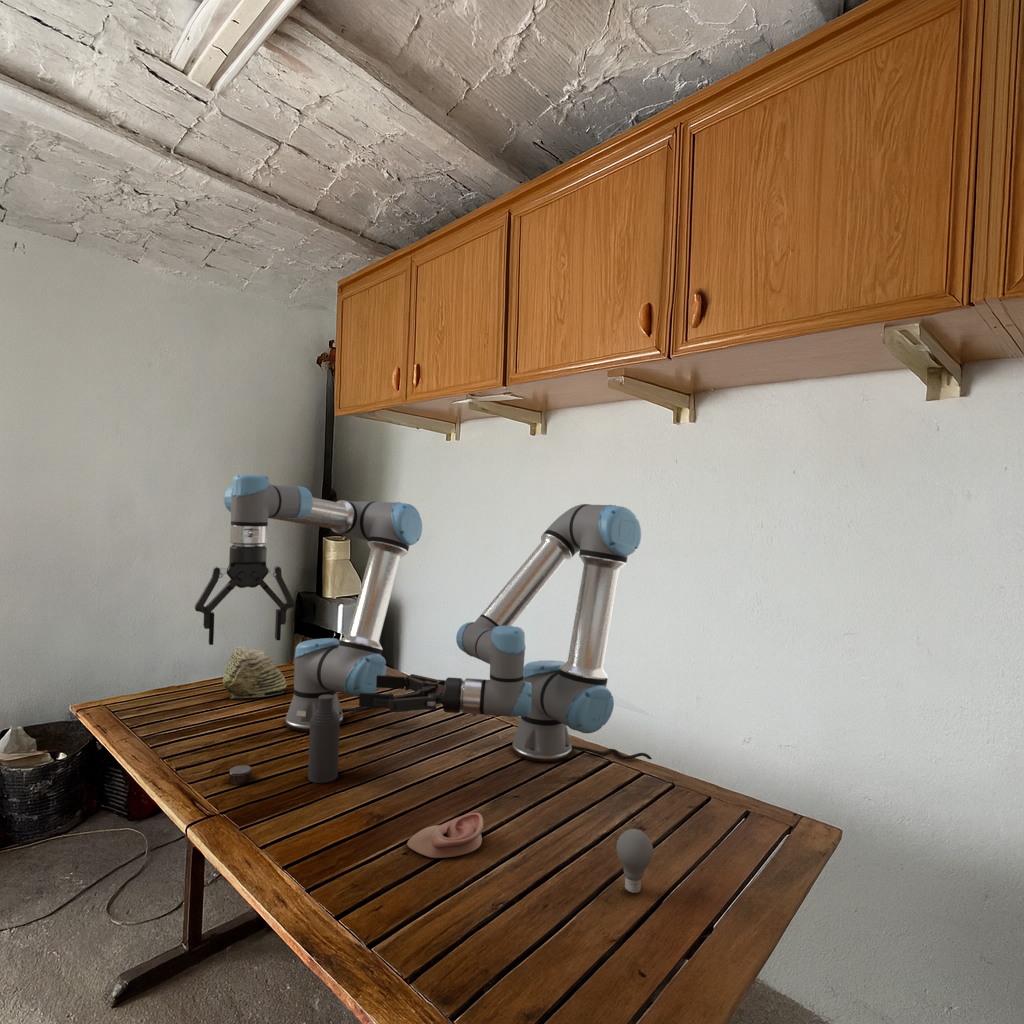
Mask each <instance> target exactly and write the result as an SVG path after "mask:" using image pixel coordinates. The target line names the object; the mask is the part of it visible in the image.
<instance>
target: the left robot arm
mask: <svg viewBox="0 0 1024 1024" xmlns="http://www.w3.org/2000/svg"><path fill="white" fill-rule="evenodd" d="M231 484H232V485H230V486H229V487H228V488H227V489H226V491H225V493H224V495H223V504H224V506H225V508H226V510H227V511H229V513H230V529H229V530H230V531H229V543H230V544H232V545H231V546H229V555H228V557H229V559H228V561H229V562H228V566H227V568H225V567H218V566H214V567H213V569H212V574H211V577H210V579H209V581H208V582H207V584H206V586H205V588H204V589H203V591H202V593H201V595H200V596H199V598H198V600H197V602H196V603H195V605H194V611H196V612H197V613H202V614H203V628H204V629H205V630H208V645H209V646H214V638H215V637H214V635H215V612H214V610H215V608H216V607H217V606H218V605H219V604H220V603H221V602H222V601H223V600H224V599H225V598H226V597H227V596H228V595H229V594H230V592H231V591H233V590H234V589H235V588H237V587H238V588H239V589H244V588H250V589H251V588H252V589H253V588H255V589H256V587H258V586H260V588H262V590H263V591H264V592H265V593H266V594H267V595H268V596H269V598H270V599H271V600H272V601H273V602H274V603H275V604H276V606H277V607H279V608H278V609H277V608H276V609H275V625H274V626H275V628H274V639H275V640H276V641H281V635H282V634H281V633H282V625H286V623H287V611H288V610H289V609H291V608H294V607H295V606H296V602H295V601H294V599H293V597H292V595H291V593H290V592H291V591H290V590H289V588H288V587H287V584H286V582H285V580H284V579H283V576H282V575H283V574H282V568H281V567H280V566H279V565H274V566H272V567H268V566H267V554H268V553H267V552H268V551H267V549H268V548H267V546H266V545H265V544H268V543H267V542H268V525H269V519H271V520H278V521H283V522H290V523H296V524H301V525H308V526H313V527H320V528H326V529H331V531H332V532H333V533H336V534H339V535H340V534H341V535H345V536H349V537H352V538H356V539H360V540H362V541H363V540H364V541H367V543H366V544H367V546H368V548H369V549H370V552H369V556H368V560H367V563H366V567H365V569H364V574H363V578H362V582H361V585H360V589H359V592H358V597H357V600H356V604H355V607H354V611H353V614H352V618H351V621H350V625H349V629H348V632H347V634H346V635H345V636H344V637H342V638H340V640H339V639H338V638H335V637H326V638H323V637H322V638H313V639H308V640H304V641H302V642H299V643H298V644H297V645H296V647H295V652H294V653H295V654H294V657H293V659H294V660H293V662H294V663H293V665H294V666H293V695H292V696H293V697H292V699H291V702H290V704H289V708H288V711H287V713H286V715H285V726H286V728H287V729H289V730H291V731H294V732H295V731H296V732H301V733H310V720H311V717H312V716H313V715H314V714H315V712H316V711H317V709H318V702H319V699H318V698H319V696H321V695H332V696H334V699H333V709H334V711H336V713H337V714H338V716H339V718H340V725H342V723H343V722H344V713H343V712H356V711H361V710H362V711H363V710H368V709H373V708H374V707H365V706H359V707H351V708H350V707H349V708H342V706H341V702H340V699H339V695H338V693H339V694H343V695H347V696H349V697H357V698H359V694H360V693H376V692H377V691H378V690H379V688H376V680H377V675H383V676H387V669H388V667H387V665H386V664H387V661H386V659H385V657H384V656H383V655H382V653H383V650H384V649H383V647H382V645H381V642H380V639H381V636H382V631H383V627H384V624H385V620H386V616H387V612H388V609H389V604H390V601H391V597H392V593H393V589H394V586H395V582H396V577H397V574H398V570H399V567H400V562H401V559H402V558H403V557H404V556H406V555H407V554H408V553H409V549H410V546H413V545H415V544H417V543H418V542H419V541H420V539H421V537H422V533H423V520H422V517H421V515H420V512H419V511H418V509H417V508H416V507H415V506H414V505H412V504H410V503H406V502H405V503H404V502H400V501H397V502H393V501H392V502H391V501H374V500H373V501H372V500H370V501H369V500H367V501H366V500H365V501H349V500H345V499H340V500H338V501H332V500H329V499H328V500H327V499H322V498H317V497H313V495H312V492H311V491H310V490H309V489H308V488H307V487H306V486H305V487H304V486H298V485H285V484H284V485H283V484H282V485H281V484H280V485H279V484H271V483H270V478H269V476H267V475H262V474H247V473H246V474H245V473H244V474H242V473H238V474H236V475H234V477H233V478H232V483H231ZM268 574H270V575H271V577H273V578H274V579H275V581H276V583H277V585H278V587H279V589H280V591H281V593H282V595H283V597H284V599H285V602H284V601H282V600H281V598H279V596H278V595H277V594H276V593H275V592H274V590H273V589H272V588H271V587H270V586H269V585H268V584H267V582H266V581H265V578H266V577H267V576H268ZM224 575H227V576H228V578H229V579H230V580H229V581H228V582H227V583H226V584H225V585H224V586H223V588H221V590H220V591H219V592H218V593H216V595H215V596H214V597H213V598H212V599H211V600H210V601H209V603H207V604H206V602H207V601H208V600H209V597H210V596H211V594H212V592H213V590H214V589H215V587H216V585H217V584H218V582H219V579H222V578H223V577H224ZM205 604H206V605H205ZM414 692H416V691H413V692H411V693H414Z"/></svg>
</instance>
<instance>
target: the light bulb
mask: <svg viewBox="0 0 1024 1024" xmlns="http://www.w3.org/2000/svg"><path fill="white" fill-rule="evenodd" d="M615 849H616V854H617V857H618V859H619V861H620V863H621V865H622V867H623V873H624V874H623V875H624V876H625V878H624V888H625V890H627V891H628V892H630V893H634V894H635V893H639V892H640V891H641V889H642V887H641V886H642V879H643V877H644V875H645V871H646V868H647V867H648V866H649V864H650V863H651V861H652V859H653V855H654V847H653V843H652V841H651V838H649V836H648V835H647V834H646V833H645V832H643V831H642V830H641V829H636V828H629V829H627V830H625V831H623V832H622V833H621V834H620V835H619V837H618V839H617V841H616V847H615Z"/></svg>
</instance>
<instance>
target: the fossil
mask: <svg viewBox="0 0 1024 1024" xmlns="http://www.w3.org/2000/svg"><path fill="white" fill-rule="evenodd" d="M222 676H223V677H222V685H223V687H224V688H225V690H226V691H228V693H229V698H230V699H250V698H264V697H271V696H275V695H281V694H284V693H285V691H286V689H287V687H288V686H287V680H286V678H285V676H284V674H283V673H282V672H281V669H279V668H278V667H277V665H276V663H275V662H274V660H273V659H272V658H271V657H270V656H269V655H268V654H267V653H266V652H265V650H264V649H263V648H260V647H258V648H251V647H247V646H246V647H245V646H238V647H237V648H236V649H235V650H233V651H232V653H231V656H230V657H229V659H228V660H227V663H226V666H225V668H224V671H223V675H222Z"/></svg>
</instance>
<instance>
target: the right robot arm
mask: <svg viewBox="0 0 1024 1024" xmlns="http://www.w3.org/2000/svg"><path fill="white" fill-rule="evenodd" d="M540 541H541V542H540V543H539V544H538V545H537V547H536V548H535V549H534V550H533V551H532V553H531V554H530V555H529V556H528V557H527V559H526V560H525V561H524V562H523V563H522V565H521V566H520V567H519V568H518V569H517V571H516V572H515V573H514V574H513V575H512V577H511V578H510V579H509V580H508V581H507V582H506V584H505V585H504V586H503V588H502V589H501V590H500V591H499V592H498V594H497V595H496V596H495V597H494V598H493V599H492V601H491V602H490V603H489V605H488V606H487V607H486V608H485V609H484V610H483V612H482V613H480V615H479V616H478V617H477V619H476V620H475V621H470V622H466V623H464V624H462V625H461V626H460V627H459V628H458V630H457V632H456V637H455V639H456V640H455V641H456V645H457V647H458V648H459V650H460V651H462V652H463V653H465V654H466V655H467V656H469V657H473V658H475V659H477V660H480V661H482V662H484V663H485V664H488V665H489V679H483V678H471V677H470V678H469V677H466V678H465V679H463V678H462V677H447V678H446V679H437V678H436V679H435V678H432V677H428V676H423V675H419V674H415V673H411V674H409V675H405V676H397V675H385V676H383V675H377V680H376V688H378V689H394V690H404V691H410V690H411V691H413V692H414V693H412V692H409V693H402V694H397V695H394V693H392V692H389V693H376V692H374V693H360V694H359V697H358V698H359V699H358V707H373V708H381V709H388V710H389V713H402V712H412V711H423V710H424V711H425V710H428V711H429V710H431V711H434V710H437V705H440V704H441V705H442V709H443V711H444V713H451V714H459V713H461V711H462V713H463V714H469V715H470V714H472V716H473V717H477V715H487V716H499V717H508V718H511V717H512V718H513V717H514V718H517V717H518V718H519V717H520V720H519V723H518V726H517V729H516V730H515V734H514V737H513V739H512V743H511V745H512V747H511V750H512V752H513V753H514V755H516V756H517V757H519V758H521V759H523V760H526V761H530V762H535V763H556V762H561V761H565V760H567V759H569V758H570V757H571V755H572V750H577V751H584V752H587V753H591V754H595V755H602V756H604V755H607V754H609V753H614V754H616V755H617V756H618V758H620V759H622V760H632V759H635V758H638V757H645V758H646V759H648V760H653V758H652V757H651V755H649V754H648V753H646V752H638V753H634V754H631V755H630V754H629V755H624V754H621V753H620V751H618V749H615V748H608V749H606V750H604V751H602V750H596V749H592V748H588V747H584V746H578V745H572V742H571V738H570V737H571V736H570V734H569V730H568V728H569V729H570V730H573V731H577V732H580V733H583V734H592V733H595V732H597V731H599V730H601V729H602V727H603V726H605V725H606V724H607V723H608V722H609V720H610V719H611V716H612V714H613V711H614V706H615V700H614V696H613V695H612V692H611V690H609V688H608V687H607V685H608V679H609V676H608V674H607V673H606V671H605V670H604V663H605V658H606V652H607V651H606V650H607V646H608V638H609V633H610V626H611V623H612V622H611V621H612V615H613V608H614V604H615V603H614V602H615V596H616V590H617V584H618V579H619V578H618V577H619V573H620V569H622V568H623V567H624V566H627V562H628V559H629V558H628V557H629V556H630V555H632V554H634V553H635V552H636V550H637V549H638V548H639V546H640V544H641V541H642V527H641V524H640V521H639V519H638V518H637V516H636V514H635V513H634V512H633V511H632V510H631V509H629V508H627V507H625V506H621V505H616V504H589V503H581V504H577V505H575V506H573V507H571V508H568V509H567V510H566V511H564V512H563V513H562V514H560V515H559V516H558V517H557V518H556V519H555V520H554V521H553V522H552V523H551V524H550V525H549V526H548V528H547V529H546V530H545V531H544V532H543V533H542V534H541V536H540ZM578 552H579V553H578ZM577 553H578V557H579V558H580V560H581V561H582V563H583V568H582V573H581V579H580V585H579V592H578V596H577V597H578V598H577V603H576V609H575V614H574V621H573V626H572V633H571V638H570V645H569V651H568V655H567V656H568V657H567V661H563V660H562V661H561V660H536V661H535V660H534V661H530V662H527V663H526V664H525V656H526V655H525V654H526V634H525V631H524V629H523V628H521V627H519V626H514V624H515V623H516V621H517V620H518V619H519V618H520V616H521V615H522V614H523V613H524V611H525V610H526V609H527V608H528V606H529V605H530V604H531V603H532V602H533V600H534V599H535V598H536V597H537V595H538V594H539V593H540V592H541V590H542V589H543V588H544V587H545V585H546V584H547V583H548V581H550V579H551V578H552V577H553V575H554V574H555V573H556V572H557V571H558V569H559V568H560V567H561V566H562V565H563V563H564V562H565V561H571V559H572V558H573V557H574V556H575V555H576V554H577ZM415 691H416V692H415Z"/></svg>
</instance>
